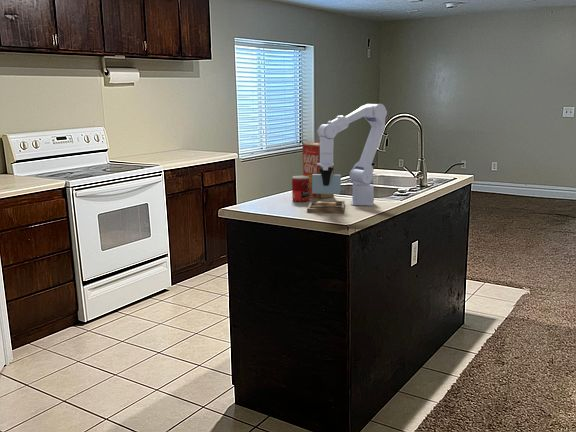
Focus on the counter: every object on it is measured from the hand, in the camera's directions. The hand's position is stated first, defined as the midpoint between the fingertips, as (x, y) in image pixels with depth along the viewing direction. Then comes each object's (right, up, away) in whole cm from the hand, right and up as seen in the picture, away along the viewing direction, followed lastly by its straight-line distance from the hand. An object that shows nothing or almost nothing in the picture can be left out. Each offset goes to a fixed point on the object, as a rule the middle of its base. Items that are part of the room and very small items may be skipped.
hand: (326, 185), depth 242 cm
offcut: (0, -10, +1) cm, 10 cm away
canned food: (-10, -6, +20) cm, 23 cm away
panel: (0, -3, +1) cm, 3 cm away
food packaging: (-2, -4, +30) cm, 31 cm away
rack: (0, -10, +2) cm, 10 cm away
